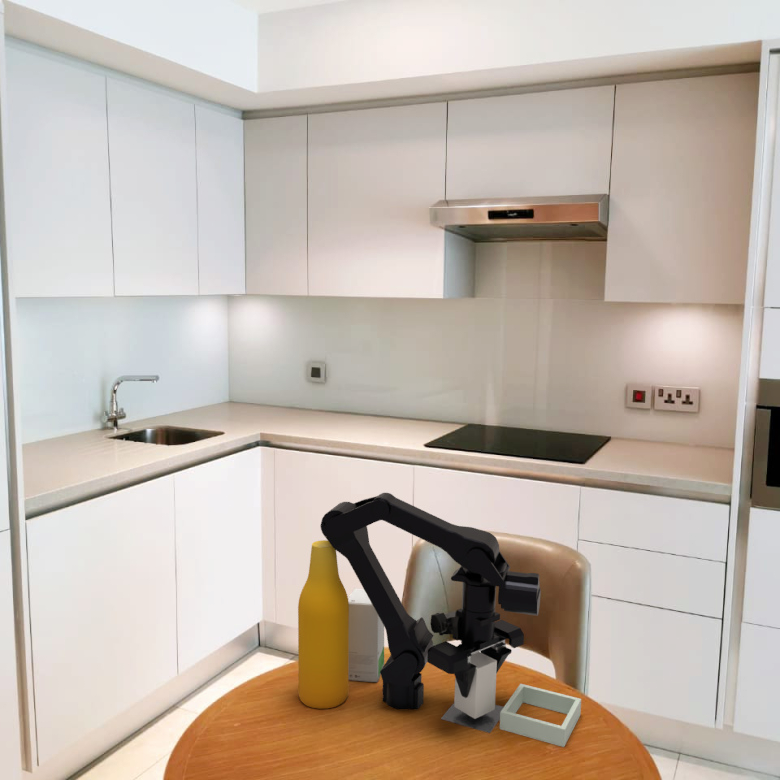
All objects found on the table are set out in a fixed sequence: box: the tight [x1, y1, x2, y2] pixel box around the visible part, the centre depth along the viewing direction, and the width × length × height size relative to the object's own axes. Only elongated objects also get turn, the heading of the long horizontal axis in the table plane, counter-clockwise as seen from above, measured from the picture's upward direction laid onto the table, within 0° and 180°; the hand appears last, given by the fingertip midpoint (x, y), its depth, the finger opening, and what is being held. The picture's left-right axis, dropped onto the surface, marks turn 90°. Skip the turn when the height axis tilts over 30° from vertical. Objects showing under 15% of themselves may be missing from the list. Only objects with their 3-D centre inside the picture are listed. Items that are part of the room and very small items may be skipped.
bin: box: [499, 683, 582, 748], centre depth 135 cm, size 11×11×4 cm
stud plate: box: [440, 702, 504, 734], centre depth 138 cm, size 9×9×4 cm
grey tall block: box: [453, 651, 497, 719], centre depth 137 cm, size 5×5×9 cm
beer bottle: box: [297, 539, 350, 710], centre depth 142 cm, size 9×9×29 cm
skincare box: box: [348, 587, 385, 683], centre depth 153 cm, size 8×7×16 cm
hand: (475, 691), depth 137 cm, fingers closed on grey tall block, 5 cm apart
